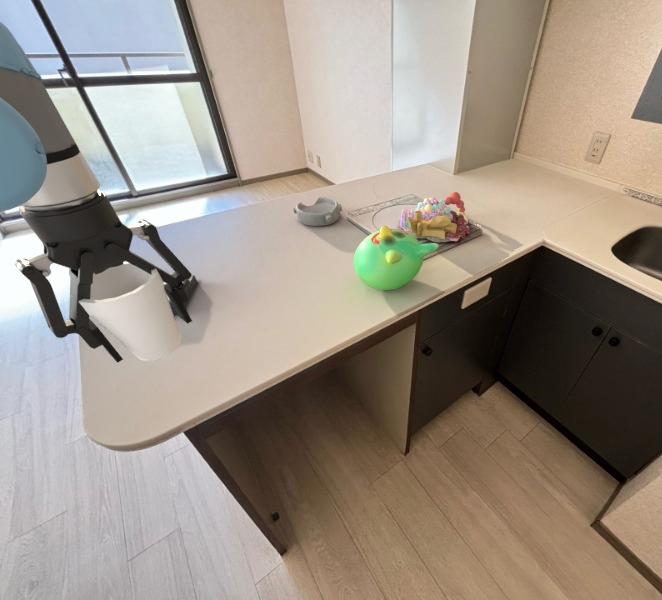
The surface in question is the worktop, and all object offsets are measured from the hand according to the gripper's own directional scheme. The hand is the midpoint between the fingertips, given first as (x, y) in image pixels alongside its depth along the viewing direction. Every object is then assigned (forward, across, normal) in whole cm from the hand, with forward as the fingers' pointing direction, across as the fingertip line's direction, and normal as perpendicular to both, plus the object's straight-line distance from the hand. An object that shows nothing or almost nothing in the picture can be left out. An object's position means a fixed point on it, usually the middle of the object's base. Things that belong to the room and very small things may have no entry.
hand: (153, 336), depth 50 cm
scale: (+14, -9, -30) cm, 34 cm away
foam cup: (+2, 0, 0) cm, 2 cm away
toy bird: (+14, -49, +10) cm, 51 cm away
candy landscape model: (+13, -82, +3) cm, 84 cm away
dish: (+13, -62, -30) cm, 70 cm away
